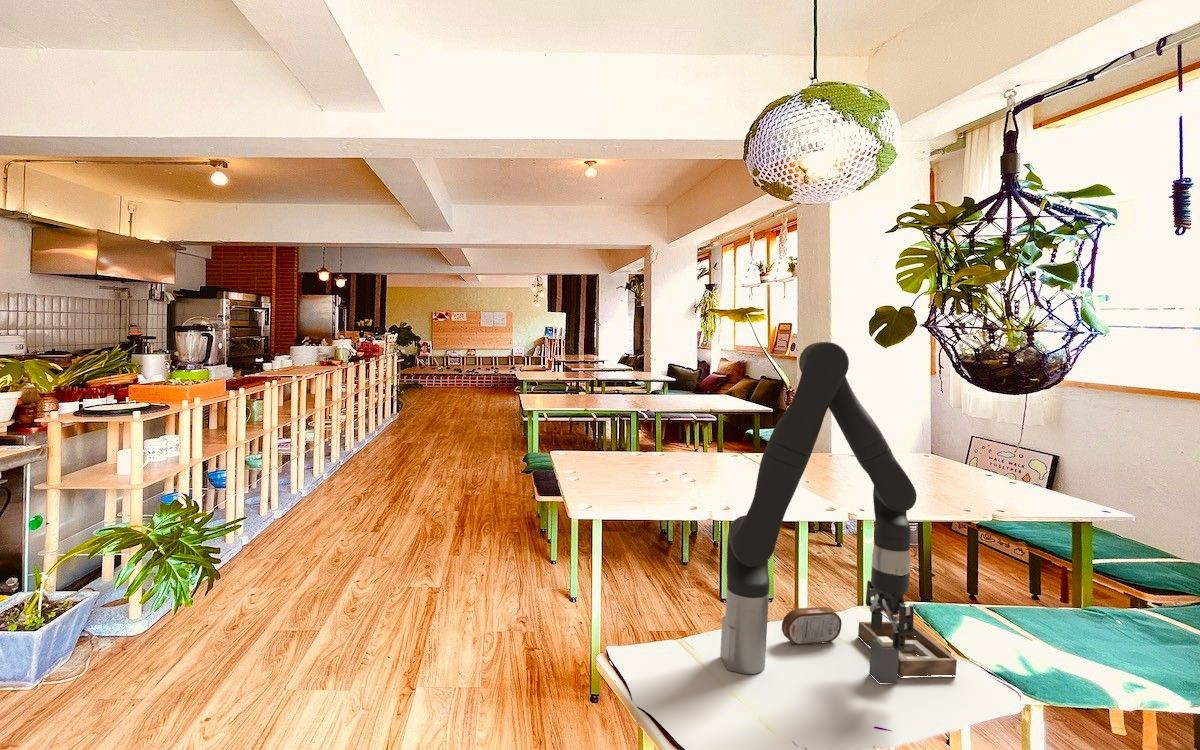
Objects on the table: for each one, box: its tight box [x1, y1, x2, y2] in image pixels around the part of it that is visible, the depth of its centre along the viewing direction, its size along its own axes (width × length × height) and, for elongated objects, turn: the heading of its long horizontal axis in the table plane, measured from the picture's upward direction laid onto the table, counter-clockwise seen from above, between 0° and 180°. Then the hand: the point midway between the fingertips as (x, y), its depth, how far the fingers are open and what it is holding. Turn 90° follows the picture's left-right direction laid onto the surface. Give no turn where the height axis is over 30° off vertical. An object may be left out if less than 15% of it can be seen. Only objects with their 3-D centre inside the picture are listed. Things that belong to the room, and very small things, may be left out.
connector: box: [868, 637, 899, 684], centre depth 133 cm, size 4×4×9 cm
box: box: [857, 621, 958, 677], centre depth 143 cm, size 13×18×4 cm
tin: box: [781, 606, 843, 646], centre depth 148 cm, size 15×3×8 cm, turn 102°
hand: (887, 638), depth 133 cm, fingers open, 8 cm apart
